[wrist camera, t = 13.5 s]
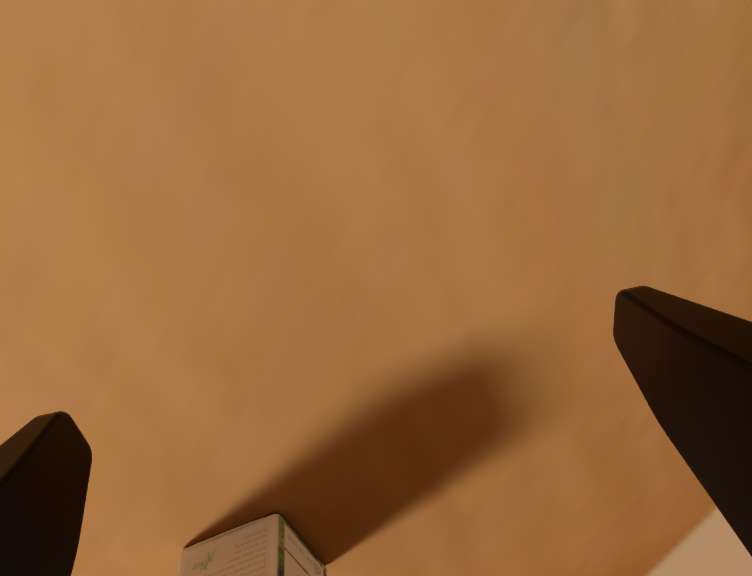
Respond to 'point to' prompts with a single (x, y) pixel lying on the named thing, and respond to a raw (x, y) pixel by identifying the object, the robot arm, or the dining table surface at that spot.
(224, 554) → the syrup box
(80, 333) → the dining table surface
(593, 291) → the dining table surface
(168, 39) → the dining table surface
